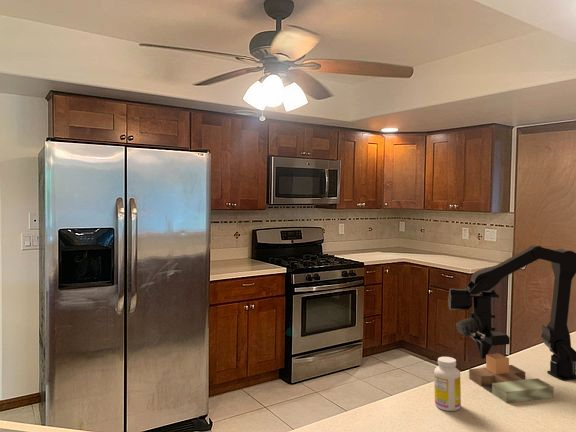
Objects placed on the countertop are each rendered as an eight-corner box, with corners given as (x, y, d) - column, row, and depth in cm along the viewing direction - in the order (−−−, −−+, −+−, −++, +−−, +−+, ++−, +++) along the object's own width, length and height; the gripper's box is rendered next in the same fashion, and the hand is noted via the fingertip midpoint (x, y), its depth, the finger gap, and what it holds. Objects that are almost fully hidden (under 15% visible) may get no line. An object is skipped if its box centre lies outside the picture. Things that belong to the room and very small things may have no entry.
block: (499, 367, 138) (499, 353, 138) (508, 372, 133) (508, 358, 133) (486, 368, 137) (486, 354, 137) (495, 374, 133) (495, 359, 132)
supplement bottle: (456, 401, 122) (456, 355, 122) (464, 412, 115) (463, 364, 115) (432, 400, 123) (431, 354, 122) (437, 411, 116) (437, 363, 116)
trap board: (511, 374, 140) (511, 364, 140) (553, 397, 123) (553, 386, 123) (469, 378, 137) (469, 369, 137) (506, 402, 120) (506, 392, 120)
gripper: (444, 305, 149) (444, 350, 150) (477, 319, 131) (478, 371, 132) (473, 303, 151) (473, 348, 152) (510, 317, 133) (511, 367, 134)
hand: (482, 358), depth 142 cm, fingers closed
